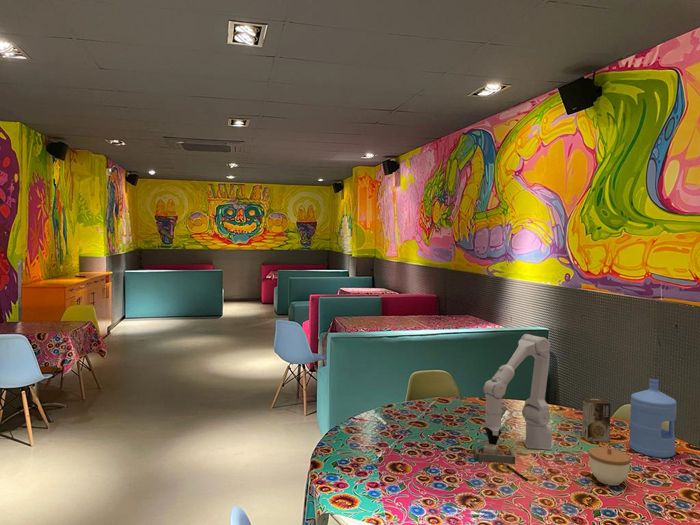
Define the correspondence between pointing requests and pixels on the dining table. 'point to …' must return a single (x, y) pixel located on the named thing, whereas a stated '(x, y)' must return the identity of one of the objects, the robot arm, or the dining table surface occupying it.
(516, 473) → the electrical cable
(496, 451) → the usb wall charger
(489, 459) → the charging bay
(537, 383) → the robot arm
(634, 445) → the water jug
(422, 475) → the dining table surface
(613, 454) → the lidded bowl
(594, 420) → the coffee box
